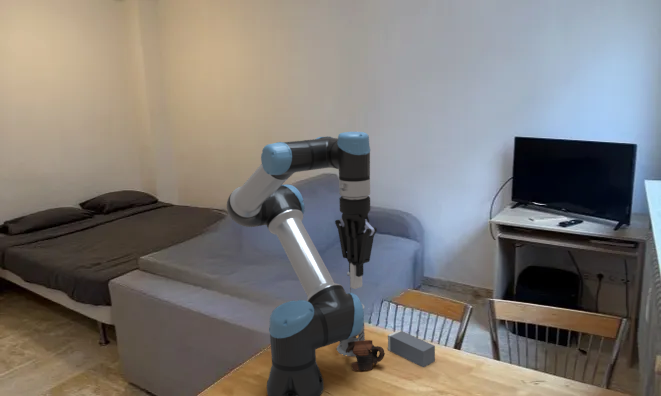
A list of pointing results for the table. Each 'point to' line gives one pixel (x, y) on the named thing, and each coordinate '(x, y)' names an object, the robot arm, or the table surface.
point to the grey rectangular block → (411, 348)
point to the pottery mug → (365, 354)
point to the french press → (344, 343)
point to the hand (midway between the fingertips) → (356, 286)
